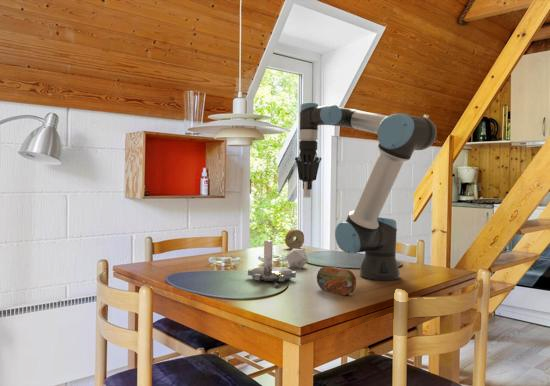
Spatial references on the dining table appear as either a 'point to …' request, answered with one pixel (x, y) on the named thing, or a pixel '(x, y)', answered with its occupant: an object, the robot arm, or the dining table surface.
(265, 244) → the sprocket
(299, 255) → the die
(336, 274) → the tin
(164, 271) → the dining table surface
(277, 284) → the timing pointer
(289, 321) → the dining table surface
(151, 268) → the dining table surface
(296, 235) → the stone disc
